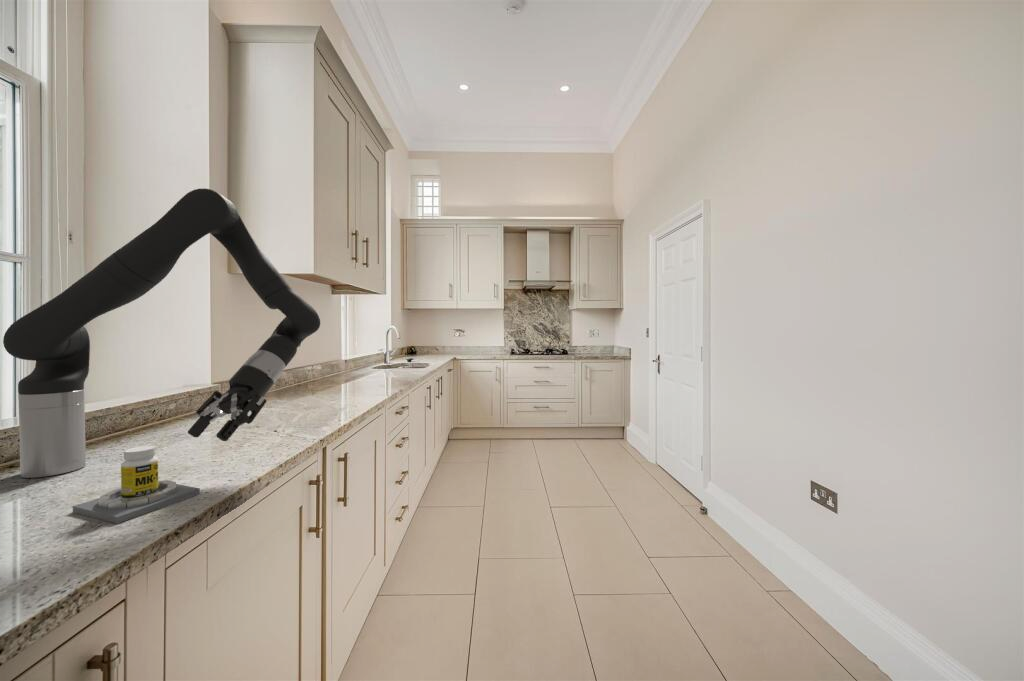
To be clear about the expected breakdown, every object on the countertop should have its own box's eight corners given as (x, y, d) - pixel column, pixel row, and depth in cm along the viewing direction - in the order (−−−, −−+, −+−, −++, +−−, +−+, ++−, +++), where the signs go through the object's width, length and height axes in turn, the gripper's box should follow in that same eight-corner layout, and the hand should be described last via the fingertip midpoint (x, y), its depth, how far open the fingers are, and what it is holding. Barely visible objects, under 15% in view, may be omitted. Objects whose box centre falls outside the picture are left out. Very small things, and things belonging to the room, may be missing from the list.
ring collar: (85, 504, 66) (85, 498, 66) (154, 483, 75) (154, 478, 75) (121, 513, 63) (121, 506, 63) (189, 489, 72) (189, 484, 72)
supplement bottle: (135, 503, 66) (134, 453, 66) (114, 500, 67) (112, 452, 67) (165, 491, 71) (164, 445, 71) (145, 489, 72) (144, 444, 72)
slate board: (72, 512, 65) (72, 506, 65) (158, 485, 77) (157, 480, 77) (116, 523, 61) (116, 517, 61) (199, 493, 73) (199, 488, 73)
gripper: (224, 363, 89) (167, 424, 79) (270, 364, 85) (216, 430, 74) (247, 383, 95) (197, 443, 84) (292, 385, 90) (244, 449, 79)
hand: (206, 437), depth 79 cm, fingers open, 8 cm apart
